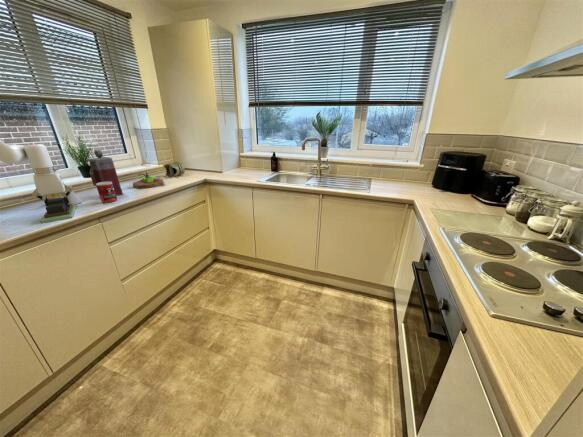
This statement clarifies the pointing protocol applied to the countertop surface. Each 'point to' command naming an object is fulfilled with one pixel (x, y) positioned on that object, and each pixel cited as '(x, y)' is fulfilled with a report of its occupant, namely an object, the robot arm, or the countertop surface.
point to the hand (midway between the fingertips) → (58, 205)
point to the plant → (147, 182)
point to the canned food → (106, 192)
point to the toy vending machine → (104, 171)
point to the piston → (174, 169)
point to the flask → (73, 197)
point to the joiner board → (60, 214)
